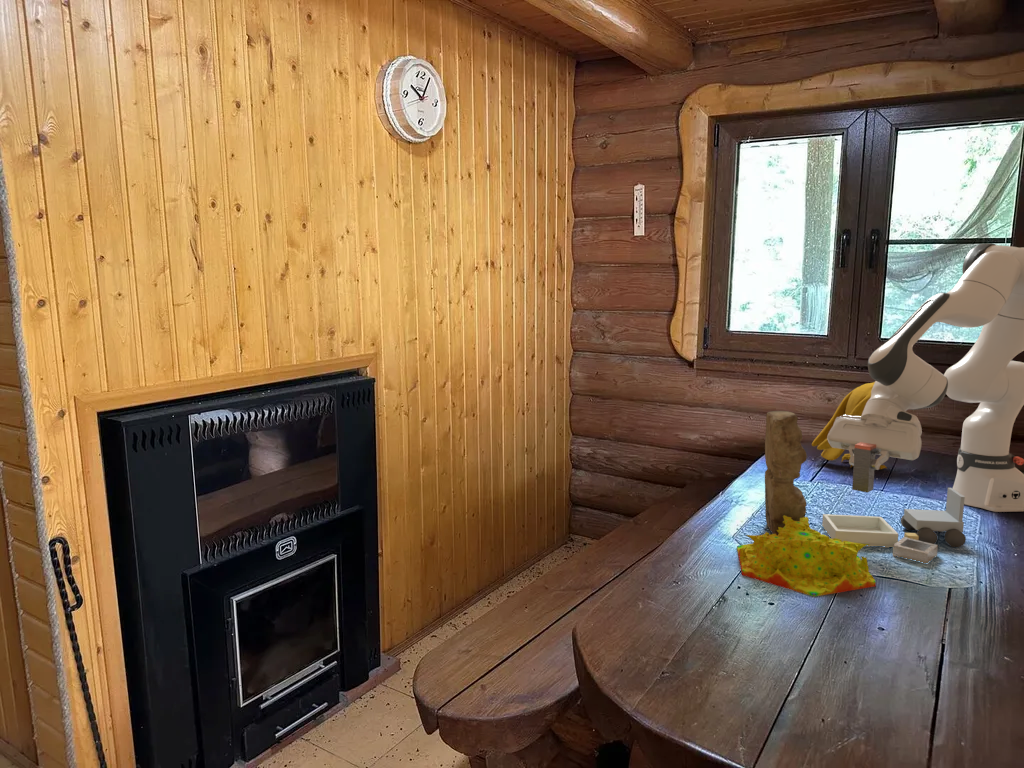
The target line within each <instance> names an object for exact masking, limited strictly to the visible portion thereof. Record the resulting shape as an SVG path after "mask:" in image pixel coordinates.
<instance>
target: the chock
mask: <svg viewBox="0 0 1024 768" xmlns="http://www.w3.org/2000/svg"><path fill="white" fill-rule="evenodd" d="M916 533H917V532H904V533H903V534H904V535H903V537H906V538H911V539H915V540H919V536H918V535H917V534H916Z"/></svg>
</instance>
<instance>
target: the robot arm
mask: <svg viewBox="0 0 1024 768" xmlns="http://www.w3.org/2000/svg"><path fill="white" fill-rule="evenodd" d="M961 270H962V275H961V276H960V278H959V279H958V281H957V282H956V283H955V285H954V286H953V287H952V289H950V290H949V291H948V292H939V293H936V294H934V295H932V296H931V297H930V298H929V297H928V299H927V300H925V301H924V302H923V303H922V304H921V305H920V306H919V307H918V308H917V309H916V310H915V311H914V312H913V313H912V314H911V315H910V316H909V317H908V319H906V320H905V322H904V323H903V324H901V326H900V327H898V328H897V330H896V331H895V332H894V333H893V334H892V335H891V336H890V337H889V338H888V339H887V340H885V342H883V343H882V344H881V345H879V346H878V347H877V348H876V349H875V350H874V351H873V352H872V353H871V354H870V355H869V357H868V360H867V369H868V374H869V377H870V378H871V379H873V380H874V382H875V383H874V386H873V388H872V391H871V398H870V399H869V400H868V401H867V403H866V405H865V408H864V410H863V413H862V415H861V417H860V416H849V415H843V416H840V417H837V418H836V419H835V421H834V424H833V426H832V428H831V430H830V432H829V433H828V436H827V439H828V442H829V444H830V445H831V447H833V448H839V449H845V451H846V450H847V451H849V454H850V456H851V457H850V459H848V463H849V465H850V466H851V465H853V466H852V467H854V452H855V444H858V443H860V442H863V443H870V444H876V454H875V456H876V455H878V456H879V457H878V458H877V459H876V458H875V460H874V459H873V460H872V463H871V468H872V469H875V470H874V471H876V470H877V471H879V470H880V469H879V468H880V465H884V463H885V462H887V461H889V458H890V457H891V458H895V459H896V458H897V459H901V460H902V459H903V460H909V461H914V460H916V459H918V458H919V456H920V454H921V450H922V443H923V442H922V438H921V437H922V434H923V431H922V430H923V429H922V425H921V422H920V420H919V418H918V416H917V415H915V414H912V413H909V412H908V410H912V411H915V410H922V409H923V410H924V409H929V408H933V407H935V406H937V405H939V404H940V403H941V402H942V401H943V399H944V398H945V396H946V395H947V397H948V398H949V399H951V400H953V401H957V402H963V403H969V404H973V403H975V404H976V403H979V404H978V405H977V406H978V407H977V408H976V409H975V411H973V412H972V413H971V414H970V415H969V416H968V417H966V418H965V420H964V421H963V423H962V430H961V431H962V432H961V442H960V447H959V448H958V452H957V458H956V467H957V471H956V476H955V479H954V482H953V486H952V488H953V489H954V490H955V491H957V492H958V493H960V494H961V495H963V496H964V497H965V499H964V505H965V506H971V507H974V508H981V509H984V510H987V511H991V512H993V513H994V512H995V513H998V512H999V513H1002V512H1003V513H1005V512H1006V513H1007V512H1010V513H1011V512H1024V472H1022V471H1020V470H1019V469H1018V468H1017V467H1016V465H1018V466H1022V465H1024V458H1022V457H1020V456H1015V455H1014V454H1013V453H1010V445H1011V438H1012V434H1013V433H1012V432H1013V427H1014V423H1015V422H1016V418H1017V417H1018V415H1019V413H1020V412H1021V410H1022V408H1023V406H1024V362H1022V361H1016V360H1013V359H1014V358H1015V357H1016V356H1017V355H1019V354H1020V353H1022V352H1024V247H1017V246H1012V245H1002V244H1001V245H1000V244H999V245H998V244H996V243H980V244H978V245H976V246H974V247H973V248H971V249H970V250H969V252H967V254H966V256H965V258H964V260H963V263H962V269H961ZM936 323H943V324H947V325H950V326H954V327H957V328H958V327H960V328H979V327H982V329H981V332H980V333H979V336H978V338H977V340H976V341H975V343H974V344H973V346H972V347H971V348H970V349H969V351H968V352H967V353H966V354H965V355H964V356H963V357H962V358H961V359H960V360H959V361H958V362H956V363H954V364H953V365H951V366H950V367H948V368H947V369H946V370H945V372H944V373H942V372H941V371H939V370H938V369H937V368H935V367H934V366H933V365H931V364H929V363H928V362H926V360H923V359H922V358H921V357H919V356H918V355H916V354H915V352H914V351H913V346H914V345H915V344H916V343H917V342H918V341H919V340H920V339H921V338H922V336H924V334H925V333H927V331H928V330H929V329H930V328H931V327H932V326H933V325H935V324H936ZM1015 464H1016V465H1015Z"/></svg>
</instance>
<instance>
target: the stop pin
mask: <svg viewBox="0 0 1024 768" xmlns="http://www.w3.org/2000/svg"><path fill="white" fill-rule="evenodd" d="M873 459H874V460H876V444H870V443H863V442H860V443H858V444H855V452H854V466H853V472H852V486H851V487H852V488H851V489H852V491H857V492H863V493H870V492H871V491H873V490H874V486H875V485H874V481H875V471H876V470H875V469H872V468H871V463H872V460H873Z"/></svg>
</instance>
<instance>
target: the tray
mask: <svg viewBox="0 0 1024 768" xmlns="http://www.w3.org/2000/svg"><path fill="white" fill-rule="evenodd" d="M821 525H822V526H823V527H824V529H825V530H826V531H827V533H828V534H829V535H830V537H831V538H832V539H833V538H837V539H840V540H842V542H843V541H849V542H854V543H862V544H870V545H868V546H867V547H870V546H885V547H884V548H889V547H893V545H894V544H895V543H897V542H898V541H899V532H897V531H896V530H895V529H894V527H892V526H891V525H890V524H889V522H887V521H886V520H885V519H884V518H883V517H882V516H872V515H871V516H869V515H848V514H829V513H828V514H827V513H822V524H821ZM824 529H823V530H824ZM825 530H824V531H825ZM827 533H826V534H827ZM828 534H827V535H828ZM830 537H829V538H830Z"/></svg>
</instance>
